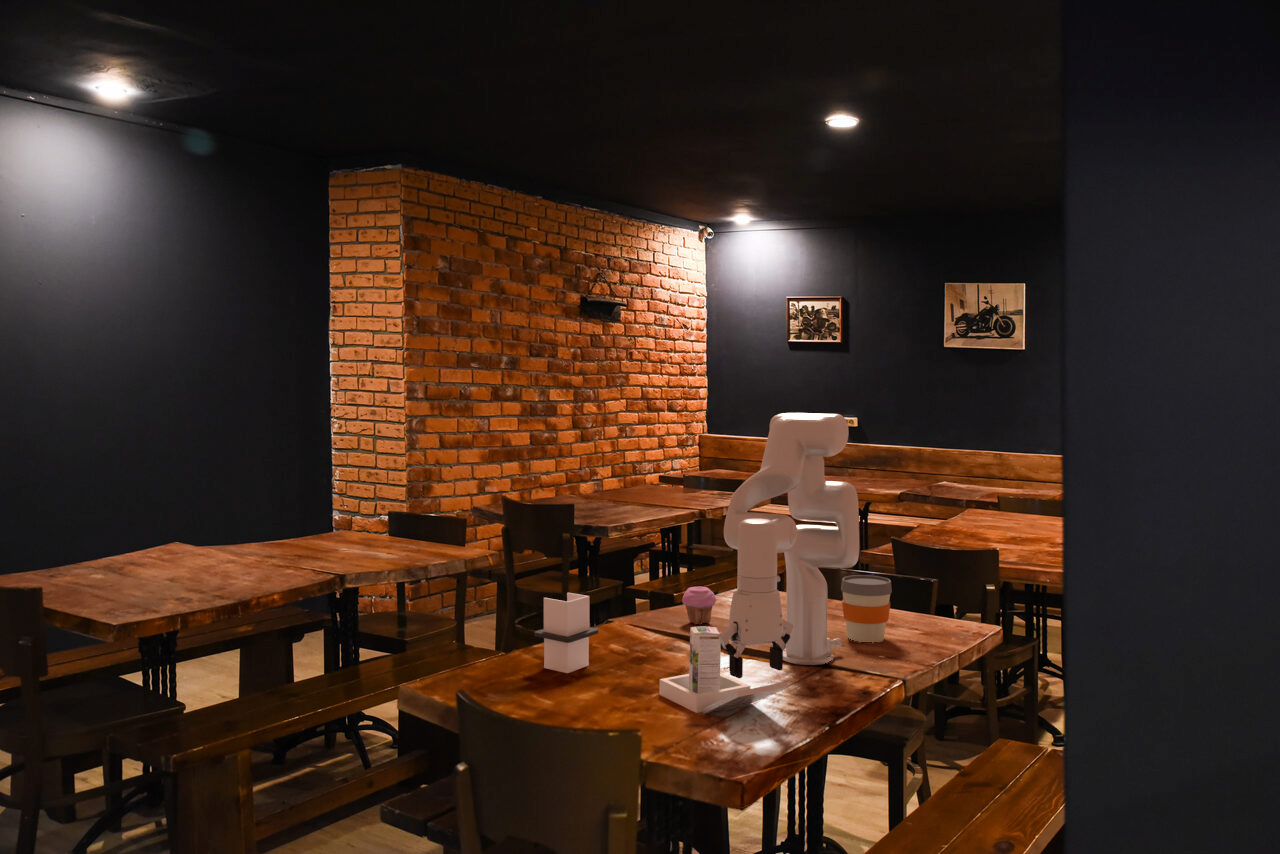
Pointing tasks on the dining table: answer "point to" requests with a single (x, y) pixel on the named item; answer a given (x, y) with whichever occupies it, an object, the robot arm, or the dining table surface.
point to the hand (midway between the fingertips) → (756, 672)
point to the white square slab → (744, 697)
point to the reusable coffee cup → (866, 606)
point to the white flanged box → (566, 633)
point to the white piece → (681, 694)
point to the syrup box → (704, 659)
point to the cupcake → (699, 604)
